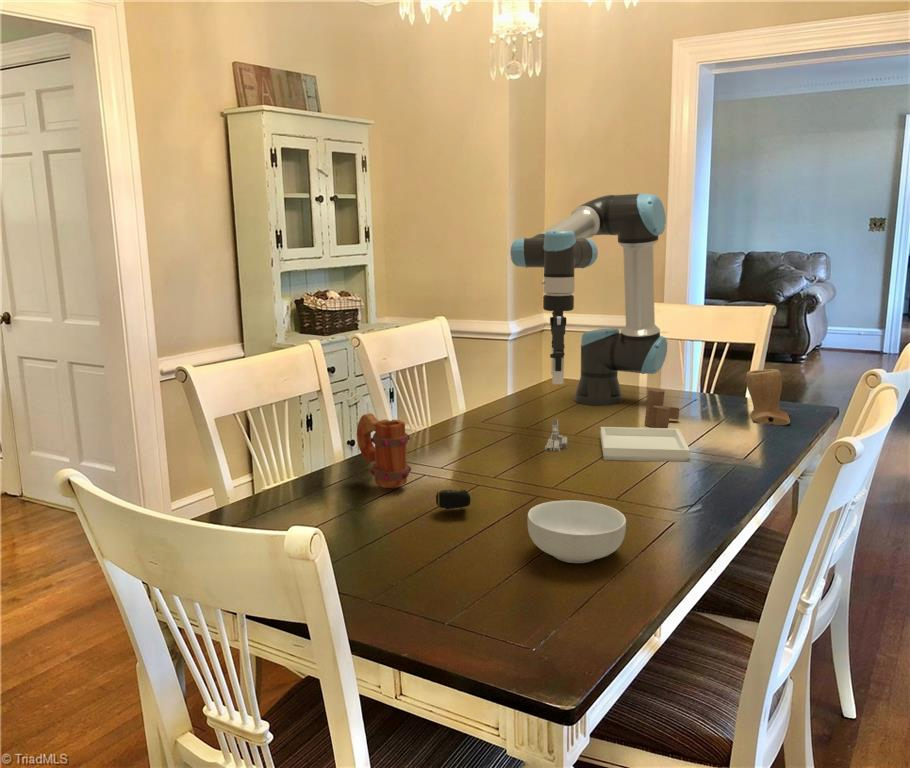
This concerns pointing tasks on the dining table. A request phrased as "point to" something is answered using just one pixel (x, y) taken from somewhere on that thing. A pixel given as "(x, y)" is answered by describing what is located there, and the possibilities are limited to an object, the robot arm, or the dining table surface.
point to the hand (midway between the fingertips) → (557, 378)
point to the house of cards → (556, 439)
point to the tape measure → (452, 499)
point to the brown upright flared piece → (766, 396)
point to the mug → (384, 449)
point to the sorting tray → (643, 444)
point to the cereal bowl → (576, 529)
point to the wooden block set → (659, 410)
